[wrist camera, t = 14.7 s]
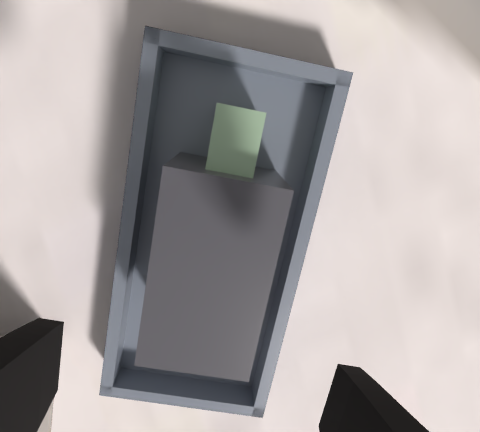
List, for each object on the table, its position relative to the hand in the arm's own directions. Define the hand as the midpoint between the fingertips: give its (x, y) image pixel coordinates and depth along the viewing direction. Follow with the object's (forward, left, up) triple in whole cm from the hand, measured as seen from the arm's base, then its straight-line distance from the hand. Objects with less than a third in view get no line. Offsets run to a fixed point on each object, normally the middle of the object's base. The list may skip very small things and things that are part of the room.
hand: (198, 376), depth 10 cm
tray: (0, 0, -10) cm, 10 cm away
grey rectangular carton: (0, +2, -9) cm, 10 cm away
